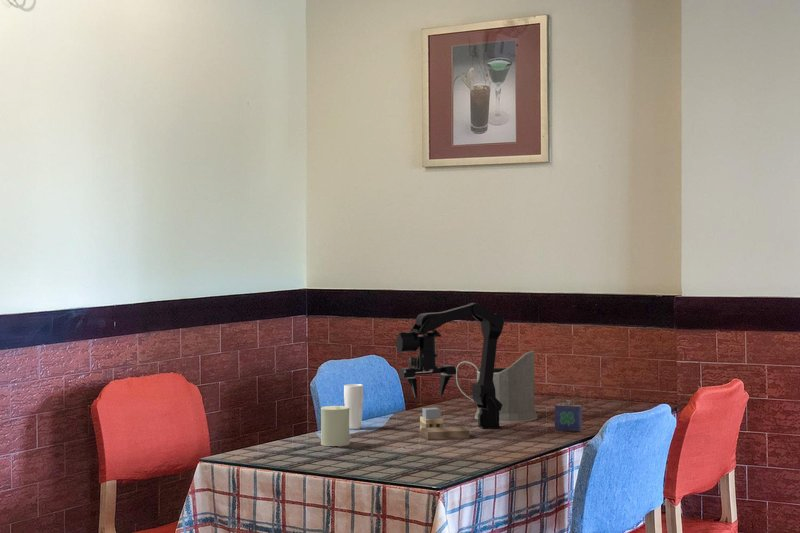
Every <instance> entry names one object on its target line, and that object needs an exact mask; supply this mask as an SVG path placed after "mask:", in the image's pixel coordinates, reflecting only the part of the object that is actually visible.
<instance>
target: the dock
mask: <svg viewBox="0 0 800 533" xmlns="http://www.w3.org/2000/svg"><path fill="white" fill-rule="evenodd" d="M470 433H471V432H470V429H468V428H466V427H464V426H462V425H461V426H460V425H459V426H458V425H457V426H443V427H433V428H421V431H420V436H421V437H423V438H424V439H425V440H427V441H434V440H435V441H436V440H456V439H457V440H458V439H459V440H460V439H462V440H463V439H470V438H471V437H470V435H471V434H470Z"/></svg>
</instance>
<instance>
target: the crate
mask: <svg viewBox="0 0 800 533" xmlns="http://www.w3.org/2000/svg"><path fill="white" fill-rule="evenodd" d="M441 410H442V409H440V408H438V407H422V411H421V412H422V416H423V418H425V419H440V418H442V417H441V416H442V415H441Z"/></svg>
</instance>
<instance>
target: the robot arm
mask: <svg viewBox="0 0 800 533" xmlns="http://www.w3.org/2000/svg"><path fill="white" fill-rule="evenodd" d="M468 317H473V318H474V319H475V320H476V321H478V322H479V323H480V328H481V332H482V333H481V334H482V336H483V343H482V351H481V358H480V359H481V360H480V369H479V370H480V377H479V380H478V382H477V381H476V383H475V382H473V383H472V390H471V395H470V396H472V398H473V400H474V401H473V400H472V401H473V402H474V403H475V404H476V407H478V408H480V409H479V414H478V419H477V426H478V427H479V428H482V429H501V428H502V426H501V425H500V422H499V411H500V410H501V408H502V404H501V403H500V402H499V401H498V400H497V399H496V391H495V386H494V383H493V375H494V368H495V365H496V356H497V345H498V340H499V338H500V336H501V334H502V332H503V330H504V325H505V319H504V317H503V316H502V314H499V313H497V312H496V313H495V312H493V311H491V310H489V309H487V308H485V307H484V306H482V305H481V304H480V303H478V302H470V303H468V304H466V305H465V304H464V305H461V306H459V307H455V308H454V307H453V308H451V309H448V310H443V311H439V312H423V313H419V314H418V315H417V316H416V319H415V322H414V324H413V326H412V327H411V329H410V330H409V331H407V332H406V331H399V332H398V336H397V337H396V341H395V347H396V350H397V352H398V353H411V352H413V353H414V352H416V351H417V350H418V353H417V356H416V357H417V358H415V356H411V357H408V367H400V369H399V372H398V373H399V374H398V375H399V377H401V378H403V379H404V380H406V381H407V383H408V384H409V386H410V388H411V390H412V391H411V392H412V394H413V396H414V398H415V399H417V398H418V382H417V380H418V379H417V377H415V376H418V375H419V376H420V375H430V374H438V377H439V396H440V397H442V396H443V394H444V392H445V390H446V387H447V385H448V383H449V381H450V379H451V378H453V375H456V369H457V367H456V366H455V365H452V364H443V365H442V364H441V365H439V367H438V365H437V357H438V353H436V350H437V349H436V338H439V337H440V338H441V337H442V334H440V333H439V332H438V330H437V329H439V328H440V327H442V326H444V325H445V324H446V323H450V322H454V321H457V320H460V319H464V318H468Z"/></svg>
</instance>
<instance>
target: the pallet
mask: <svg viewBox="0 0 800 533" xmlns="http://www.w3.org/2000/svg"><path fill="white" fill-rule="evenodd" d="M419 427H420V428H419V431H420V432H421V428H433V427H444V418H442V417H441V418H440V419H425V418H423V416H419Z"/></svg>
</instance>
